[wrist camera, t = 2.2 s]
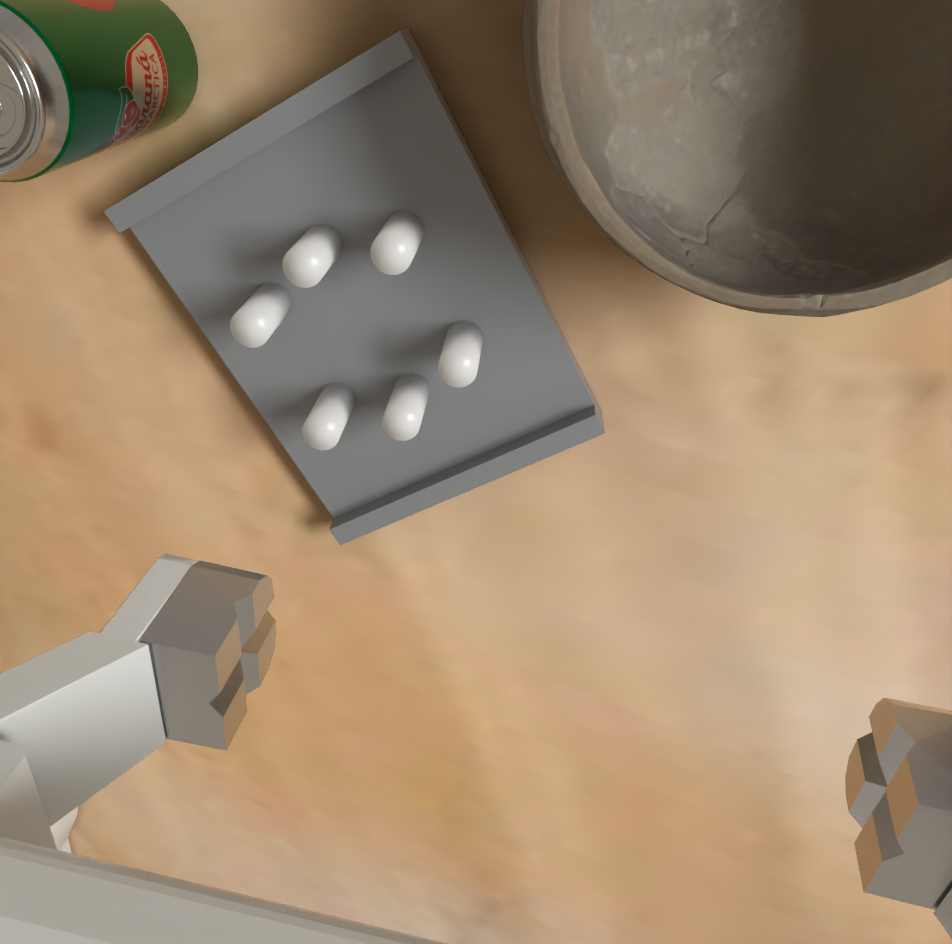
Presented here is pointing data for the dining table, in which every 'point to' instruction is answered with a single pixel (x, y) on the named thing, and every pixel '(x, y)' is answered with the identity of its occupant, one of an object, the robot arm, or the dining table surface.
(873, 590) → the dining table surface
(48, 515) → the dining table surface
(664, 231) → the bowl
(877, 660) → the dining table surface
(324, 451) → the tray
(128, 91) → the soda can
